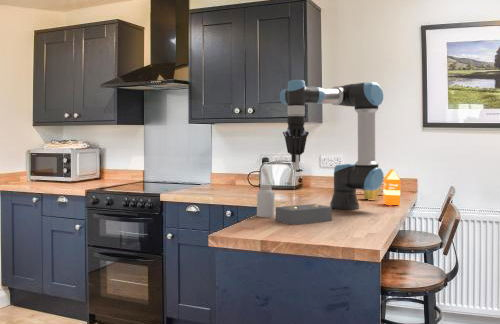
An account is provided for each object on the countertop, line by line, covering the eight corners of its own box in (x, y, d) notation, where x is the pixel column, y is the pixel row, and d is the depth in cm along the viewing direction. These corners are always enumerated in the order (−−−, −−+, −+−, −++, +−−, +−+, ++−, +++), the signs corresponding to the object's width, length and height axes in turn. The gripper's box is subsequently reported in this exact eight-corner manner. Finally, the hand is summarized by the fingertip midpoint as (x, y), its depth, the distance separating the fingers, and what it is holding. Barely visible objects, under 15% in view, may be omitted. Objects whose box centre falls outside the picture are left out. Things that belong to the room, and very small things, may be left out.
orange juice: (396, 204, 276) (397, 168, 275) (400, 206, 267) (401, 169, 266) (382, 203, 276) (383, 168, 275) (385, 205, 268) (386, 169, 267)
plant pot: (358, 199, 296) (358, 183, 295) (373, 198, 299) (373, 182, 298) (367, 201, 286) (367, 184, 285) (382, 200, 289) (383, 184, 289)
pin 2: (314, 216, 219) (314, 204, 219) (319, 217, 217) (319, 205, 216) (309, 217, 218) (309, 205, 217) (313, 218, 215) (313, 206, 215)
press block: (313, 216, 225) (314, 204, 225) (331, 220, 215) (331, 207, 215) (275, 220, 213) (275, 207, 213) (292, 224, 203) (292, 210, 203)
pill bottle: (259, 218, 220) (260, 185, 219) (254, 215, 227) (255, 183, 227) (276, 217, 222) (276, 184, 221) (270, 214, 230) (271, 183, 229)
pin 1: (293, 218, 213) (293, 206, 213) (298, 220, 210) (298, 207, 210) (287, 219, 211) (287, 206, 211) (292, 220, 208) (292, 207, 208)
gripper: (302, 116, 219) (301, 168, 221) (279, 115, 212) (278, 169, 213) (313, 115, 213) (312, 169, 214) (289, 115, 206) (289, 170, 207)
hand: (295, 169), depth 214 cm, fingers closed
